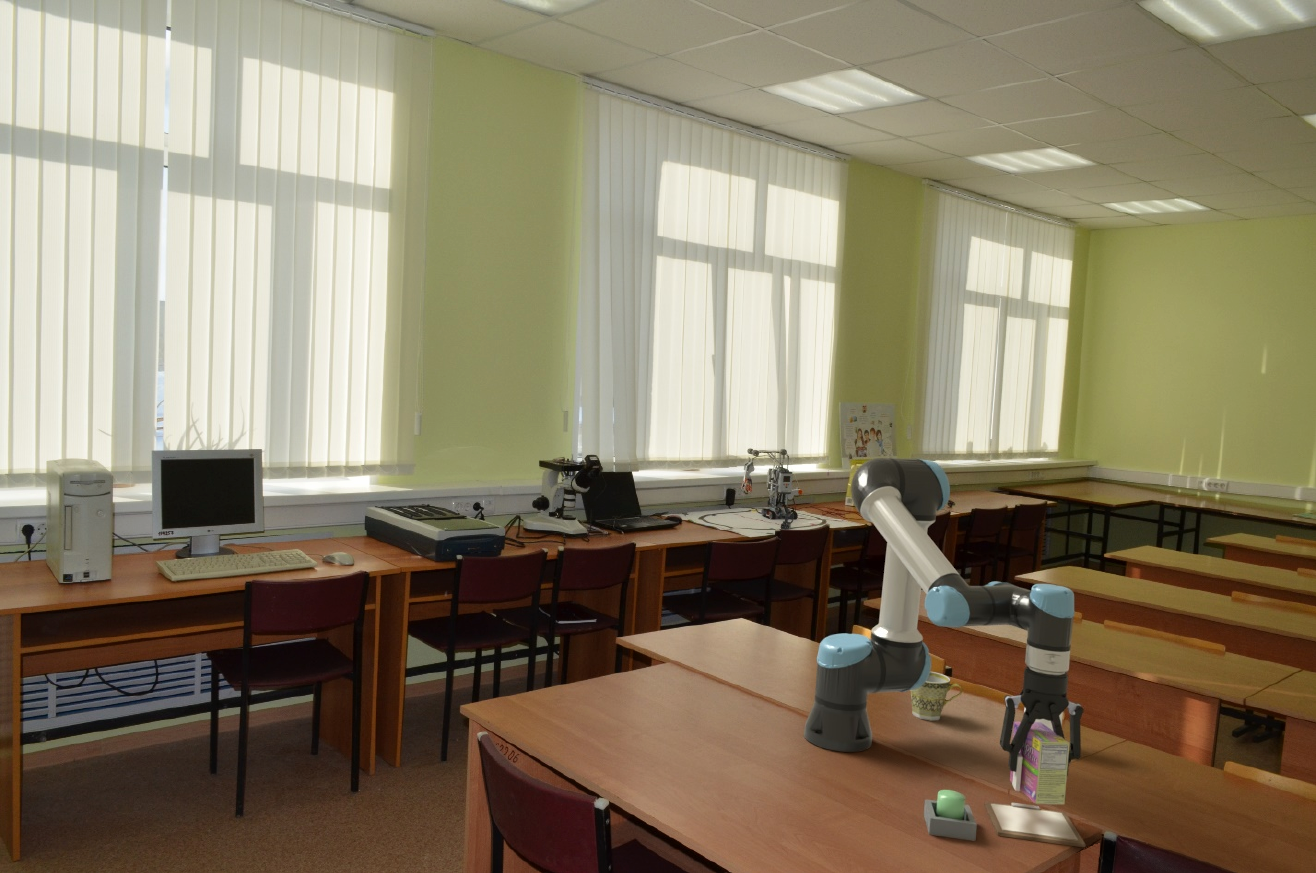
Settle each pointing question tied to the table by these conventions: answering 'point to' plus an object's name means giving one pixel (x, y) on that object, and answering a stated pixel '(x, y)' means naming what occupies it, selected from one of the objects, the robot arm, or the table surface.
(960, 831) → the button housing
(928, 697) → the ceramic cup
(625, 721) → the table surface
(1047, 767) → the box
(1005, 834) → the clipboard
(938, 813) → the button
